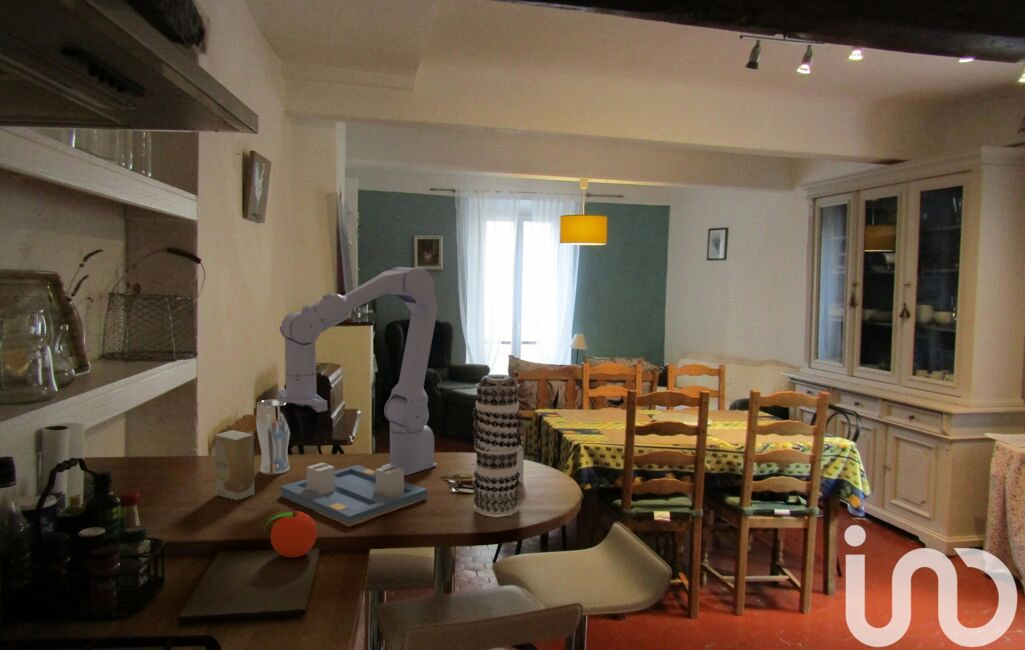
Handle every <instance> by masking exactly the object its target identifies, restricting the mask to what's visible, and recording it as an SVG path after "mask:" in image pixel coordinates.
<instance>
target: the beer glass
mask: <svg viewBox="0 0 1025 650" xmlns="http://www.w3.org/2000/svg"><path fill="white" fill-rule="evenodd" d="M285 404H286V403H284V402H281V401H278V398H270V399H264V400H261V401H258V402H256V419H255V421H256V422H255V424H256V431H257V436H258V437H257V439H258V441H259V447H260V450H261V462H260V467H259V468H260V469H259V472H260V473H261V474H262V475H269V476H270V475H272V476H273V475H274V476H275V475H281V474H285V473H287V472H289V471H290V469H291V467H290V463H289V462H290V461H289V457H288V451H289V450H288V449H289V448H288V447H289V441H290V437H291V435H290V431H289V428H288V425H287V422H286V420H285V417H284V416H283V414H282V412H281V411H280V406H283V405H285Z"/></svg>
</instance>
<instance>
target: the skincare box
mask: <svg viewBox="0 0 1025 650" xmlns="http://www.w3.org/2000/svg"><path fill="white" fill-rule="evenodd" d="M214 441H215V443H214V446H215V453H214V454H215V495H216V496H218V495H219V497H221V496H222V498H225V497H226V498H225V499H228V498H230V499H229V500H232V499H235V500H239V499H241V500H243V499H242V498H244V499H246V498H245V497H247V498H249V497H252V496H254V495H255V435H254V434H253V433H252V434H251V433H247V432H243V431H238V430H234V429H232V430H231V429H230V430H227V431H225V432H221V433H218V434H215V435H214ZM251 495H252V496H251ZM248 496H249V497H248ZM235 500H234V501H235ZM239 501H240V500H239Z"/></svg>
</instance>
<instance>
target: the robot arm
mask: <svg viewBox="0 0 1025 650" xmlns="http://www.w3.org/2000/svg"><path fill="white" fill-rule="evenodd" d="M435 283H436V281H435V280H434V278H433V277H432V276H431V275H430V273H429V272H428V271H427V270H426V269H425V268H423V267H404V266H394V267H393V268H391V269H388V270H385V271H382V272H381V273H379V274H377V275H376V276H374V277H373V278H371V279H369V280H368V281H366V282H365V283H362V284H361V285H359V286H356V288H354V289H352V290H350V291H348V292H347V293H345V294H344V295H342V294H339V293H335V292H334V293H332V294H331V293H329V292H327V293H325V294H323V295H322V299H320V300H319V301H316V302H315V303H313V304H311V305H303V306H302V307H301V312H299V311H294V312H290V313H288V314H286V315H285V316H284V319H282V322H281V326H279V332H280V334H281V336H282V337H283V338H284V346H285V347H284V348H285V351H284V357H285V359H284V364H285V365H284V366H285V368H284V369H285V389H284V390H283V389H282V390H277V391H276V394H277V397H276V399H278V401H281V402H284V403H286V404H285V405H283V406H280V411H281V412H282V414H283V416H284V417H285V420H286V422H287V425H288V428H289V431H290V438H291V441H293V442H295V441H299V440H300V442H301V444H302V445H308V444H312V443H314V440H315V436H316V431H317V428H318V425H319V422H320V419H321V418H322V416H323V414H324V413H325V412H326V411H328V400H325V399H324V398H323V397H321V396H320V395H318V394H317V360H316V359H317V357H316V355H317V354H316V353H317V351H316V341H317V339H318V338H319V337H320V334H322V333H323V332H325V331H327V330H329V329H330V328H333V327H335V326H336V325H338V324H341V323H343V322H344V321H346V320H348V319H349V318H350V315H351V312H352V310H353V309H355V308H358V307H360V306H362V305H364V304H366V303H368V302H371V301H372V300H375V299H377V298H378V297H381V296H383V295H386V294H387V295H394V296H395V297H397V298H398V299H400V300H401V301H402V302H403V303H404V304H405V305H406V307H407V309H408V310H409V311H410V320H409V325H408V330H407V335H406V340H405V346H404V353H403V357H402V362H401V367H400V368H401V369H400V373H399V380H398V382H397V384H396V385H395V386H394V387H393V388H392V389H391V393H390V396H389V397H388V400H387V401H386V403H385V404H384V409H383V410H384V416H385V418H386V419H387V421H389V463H386V464H384V465H382V466H381V468H382V467H385V466H389V465H392V466H395V467H398V468H401V469H404V477H405V476H409V475H411V474H412V475H413V474H414V473H415V474H416V473H418V472H422V471H425V470H428V469H431V468H434V467H437V465H438V464H437V463H436V462H435V436H434V433H433V430H432V429H431V427H429V425H427V423H428V422H429V418H430V412H429V411H430V410H429V408H428V402H429V397H428V394H427V392H426V391H425V388H424V386H425V380H426V379H425V378H426V374H427V369H428V363H429V358H430V354H431V353H430V352H431V347H432V341H433V336H434V331H435V325H436V321H437V315H438V309H439V307H438V302H437V298H436V294H435V289H434V288H435Z"/></svg>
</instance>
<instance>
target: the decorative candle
mask: <svg viewBox="0 0 1025 650" xmlns="http://www.w3.org/2000/svg"><path fill="white" fill-rule="evenodd" d="M520 386H521V384H519V383H517V382H516V380H515V379H514V377H512V376H510V375H506V374H488V375H484V376H483V377H482V378H481V379H480V380H479V382H478V383H477V382H476V383H475V387H476V401H475V405H474V407H473V408H472V409H473V411H472V414H471V415H472V417H473V419H474V420H473V424H472V427H473V428H474V429H473V432H472V435H473V437H474V442H473V447H474V450H475V451H476V461H475V471H474V473H473V477H474V480H473V484H474V487H475V488H474V489H473V492H472V493H473V496H474V497H473V503H474V506H473V509H474V508H475V510H476V511H478V512H480V513H484V514H490V515H502V514H511V513H514V512H516V511H517V510H518V508H519V509H520V506H519V502H520V498H519V494H520V489H519V485H520V482H519V481H518V478H519V476H520V473H519V472H518V462H517V451H518V450H519V448H520V446H519V445H521V443H522V441H520V440H519V439H518V438H520V437H521V435H522V434H521V431H519V430H518V428H519V427H521V426H522V425H523V422H521V420H520V419H521V418H522V413H521V412H519V408H520V401H519V400H518V397H519V390H518V389H519V387H520ZM475 510H474V511H475ZM518 511H519V510H518Z"/></svg>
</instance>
